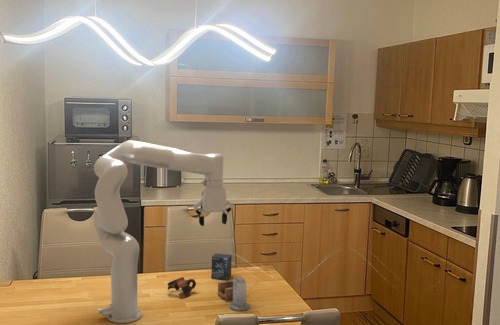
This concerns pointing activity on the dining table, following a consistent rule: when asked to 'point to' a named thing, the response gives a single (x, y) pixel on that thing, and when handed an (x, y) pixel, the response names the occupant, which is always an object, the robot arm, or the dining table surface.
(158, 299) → the dining table surface
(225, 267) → the box
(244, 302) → the pin
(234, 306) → the disc
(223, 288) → the cradle
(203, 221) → the robot arm
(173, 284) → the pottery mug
